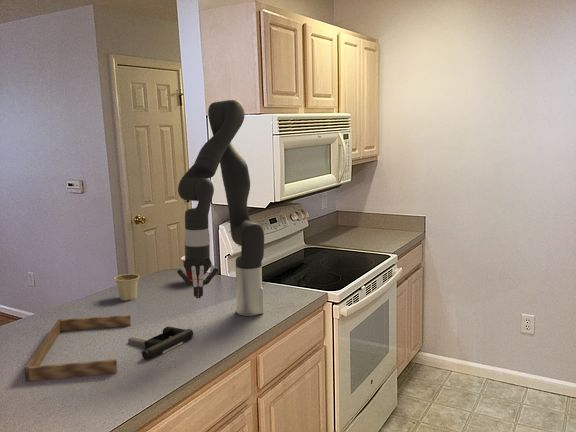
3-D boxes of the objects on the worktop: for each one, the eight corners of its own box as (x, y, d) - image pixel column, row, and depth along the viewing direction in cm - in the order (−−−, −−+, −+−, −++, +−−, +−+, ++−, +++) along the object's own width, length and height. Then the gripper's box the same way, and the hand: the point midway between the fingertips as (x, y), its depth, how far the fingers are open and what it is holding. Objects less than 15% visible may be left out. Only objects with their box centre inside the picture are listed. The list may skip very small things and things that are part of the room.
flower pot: (118, 294, 205) (117, 274, 204) (142, 294, 206) (141, 273, 204) (113, 302, 196) (111, 280, 194) (138, 301, 197) (136, 280, 195)
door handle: (112, 343, 153) (150, 351, 145) (160, 322, 170) (197, 328, 162) (113, 353, 154) (151, 362, 145) (161, 331, 171) (198, 338, 162)
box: (130, 324, 174) (130, 314, 173) (116, 373, 139) (115, 360, 138) (58, 329, 169) (58, 319, 169) (25, 381, 134) (24, 368, 134)
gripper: (218, 239, 160) (219, 292, 163) (175, 241, 158) (176, 294, 161) (219, 244, 153) (220, 300, 156) (174, 246, 151) (176, 302, 153)
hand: (198, 297), depth 158 cm, fingers closed
